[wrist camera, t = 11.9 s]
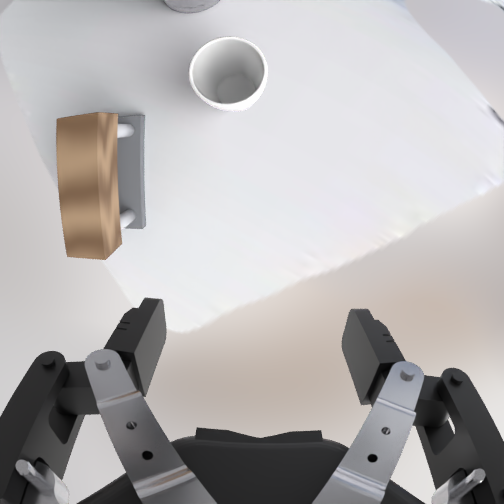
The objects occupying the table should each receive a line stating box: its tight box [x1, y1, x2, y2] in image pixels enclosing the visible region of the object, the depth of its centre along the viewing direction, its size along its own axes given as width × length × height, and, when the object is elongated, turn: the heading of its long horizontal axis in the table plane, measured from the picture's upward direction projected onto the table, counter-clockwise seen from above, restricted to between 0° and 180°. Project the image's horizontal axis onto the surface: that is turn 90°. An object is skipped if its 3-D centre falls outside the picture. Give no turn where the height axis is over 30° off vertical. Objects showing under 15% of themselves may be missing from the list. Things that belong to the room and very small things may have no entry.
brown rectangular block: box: [56, 112, 122, 260], centre depth 30 cm, size 16×6×5 cm, turn 177°
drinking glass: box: [189, 36, 268, 112], centre depth 28 cm, size 7×7×15 cm
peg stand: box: [117, 115, 146, 230], centre depth 36 cm, size 16×7×8 cm, turn 177°
